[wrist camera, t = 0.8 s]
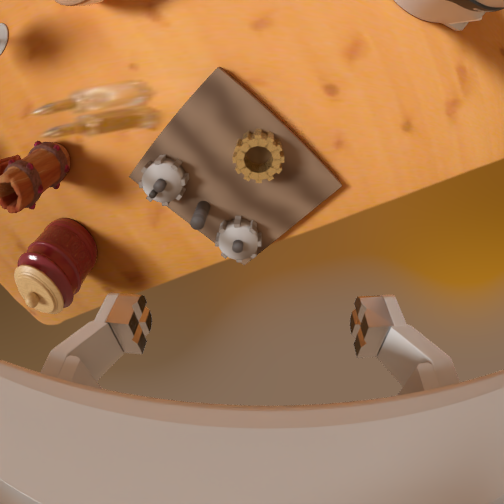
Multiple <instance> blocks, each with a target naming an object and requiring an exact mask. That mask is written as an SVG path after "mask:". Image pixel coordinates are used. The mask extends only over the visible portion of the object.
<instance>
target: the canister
mask: <svg viewBox="0 0 504 504" xmlns="http://www.w3.org/2000/svg"><path fill="white" fill-rule="evenodd" d="M96 259H97V247H96V244H95V241H94V239H93V238H92V236H91V235H90V233H89V232H88V231H87V230H86V229H85V228H84V227H83V226H82V225H81V224H79V223H78V222H76V221H74V220H71V219H68V218H60V219H57V220H55V221H53V222H51V223H50V224H49V225H48V226H47V227H46V228H45V230H44V232H43V233H42V234H41V235H40V236H39V237H38V238H37V239H36V240H35V242H33V243H32V244H31V245H30V246H29V247H28V250H27V253H24V254H22V255H21V256H20V258H19V260H18V267H17V268H16V270H15V273H14V277H15V282H16V285H17V287H18V290H19V292H20V294H21V296H22V297H23V298H24V300H25V302H26V304H27V306H29V307H30V308H35V309H36V310H38V311H41V312H44V313H50V314H57V313H60V312H61V311H62V310H63V308H65V307H68V306H69V305H70V304H71V303H72V301H73V295H75V294H76V293H77V292H78V291H79V290H80V287H81V284H82V283H83V281H84V280H85V278H86V276H87V275H88V273H89V272H90V271H91V270H92V268H93V267H94V265H95V262H96Z"/></svg>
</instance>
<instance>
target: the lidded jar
mask: <svg viewBox="0 0 504 504" xmlns="http://www.w3.org/2000/svg"><path fill="white" fill-rule="evenodd" d="M55 1H56V2H57V3H59V4H61V5H66V6H85V5H92V4H96V3H99V2H101V1H104V0H55Z"/></svg>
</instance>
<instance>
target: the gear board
mask: <svg viewBox="0 0 504 504" xmlns="http://www.w3.org/2000/svg"><path fill="white" fill-rule="evenodd" d="M255 129H262V132H263V133H267V132H268V131H270V132H272V133H274V139H277V138H279V140H280V141H281V144H282V149H283V152H284V163H282V170H281V172H280V173H279V174H278V173H275V174H274V179H272V180H270V181H268V180H267V179H263V180H262V183H256V180H254V179H250V181H247V180H245V179H244V174H242V173H240V174H238V173H237V172H236V170H235V167H236V164H237V163H233V158H232V157H233V154H234V149H235V146H236V143H237V141H238V140H239V138H240V139H242V138H243V135H244V133H246V132H248V131H249V132H250V133H255ZM246 155H247V158H248V159H249V160H250V161H251V162H253V163H257V164H262V163H266V162H267V161H268V160H269V159H270V158H271V156H272V154H271V152H270V151H269V150H268V149H267V148H265V147H261V146H256V147H252V148H250V149H249V150H248V151H247V152H246ZM129 177H130V178H131V179H132V180H134V181H135V182H136V183H138V184H139V188H143V189H144V191H145V193H146V194H147V195H148V196H147V198H146V199H148V200H149V201H150V202H151V201H152V200H155V201H157V202H162V206H167V207H168V208H170V209H171V210H172V211H174V212H175V213H176V214H178V215H179V216H180V217H181V218H183V219H184V220H185V221H187V222H188V223H189V224H190V225H191V227H192V228H194V229H196V230H198V231H200V232H201V233H202V234H204V235H205V236H206V237H208V238H209V239H210V240H211V241H213V242H214V243H215V246H219V248H220V250H221V251H222V253H221V256H223V257H224V258H225V259H226V258H227V257H229V258H232V259H236V261H237V262H240V263H242V264H243V265H245V264H246V263H248V262H249V261H250V260H251V259H253V258H254V257H256V256H257V255H258V254H259V253H260V252H261V251H263V250H264V249H265V248H266V247H268V246H269V245H270V244H271V243H272V242H274V241H275V240H276V239H277V238H279V237H280V236H281V235H282V234H284V233H285V232H286V231H287V230H289V229H290V228H291V227H292V226H293V225H295V224H296V223H297V222H298V221H300V220H301V219H302V218H303V217H305V216H306V215H307V214H308V213H309V212H311V211H312V210H313V209H314V208H316V207H317V206H318V205H319V204H321V203H322V202H323V201H324V200H325V199H327V198H328V197H329V196H330V195H332V194H333V193H334V192H335V191H337V190H338V189H339V188H340V187H341V186H342V184H341V183H340V181H339V179H338V178H337V177H336V176H335V175H334V174H333V173H332V172H331V171H330V170H329V169H328V168H327V166H326V165H325V164H324V163H323V162H322V161H321V160H320V159H319V158H318V157H317V156H316V155H315V154H314V153H313V152H312V151H311V150H310V149H309V148H308V147H307V146H306V145H305V144H304V143H303V142H302V141H301V140H300V139H299V138H298V137H297V136H296V135H295V134H294V133H293V132H292V131H291V130H290V129H289V128H288V127H287V126H286V125H285V124H284V123H283V122H282V121H281V120H280V119H279V118H278V117H277V116H276V115H275V114H273V113H272V112H271V111H270V110H269V109H268V108H267V107H266V106H265V105H264V104H263V103H261V102H260V101H259V100H258V99H257V98H256V97H255V96H254V95H253V94H251V93H250V92H249V91H248V90H247V89H246V88H245V87H243V86H242V85H241V84H240V83H239V82H238V81H236V80H235V79H234V78H233V77H232V76H230V75H229V74H228V73H227V72H226V71H224V70H223V69H222V68H221V67H218V68H217V69H216V70H215V71H214V72H213V73H212V74H211V75H210V76H209V77H208V78H207V79H206V81H205V82H204V83H203V84H202V85H201V86H200V87H199V88H198V89H197V90H196V92H195V93H194V94H193V95H192V96H191V97H190V98H189V100H188V101H187V102H186V103H185V104H184V105H183V107H182V108H181V109H180V110H179V111H178V113H177V114H176V115H175V116H174V117H173V119H172V120H171V121H170V122H169V124H168V125H167V126H166V127H165V129H164V130H163V131H162V132H161V134H160V135H159V136H158V138H157V139H156V140H155V141H154V143H153V144H152V145H151V147H150V148H149V149H148V151H147V152H146V153H145V155H144V156H143V158H142V159H141V160H140V162H139V163H138V165H137V166H136V167H135V169H134V170H133V172H132V173H131V174H130V176H129Z"/></svg>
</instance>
